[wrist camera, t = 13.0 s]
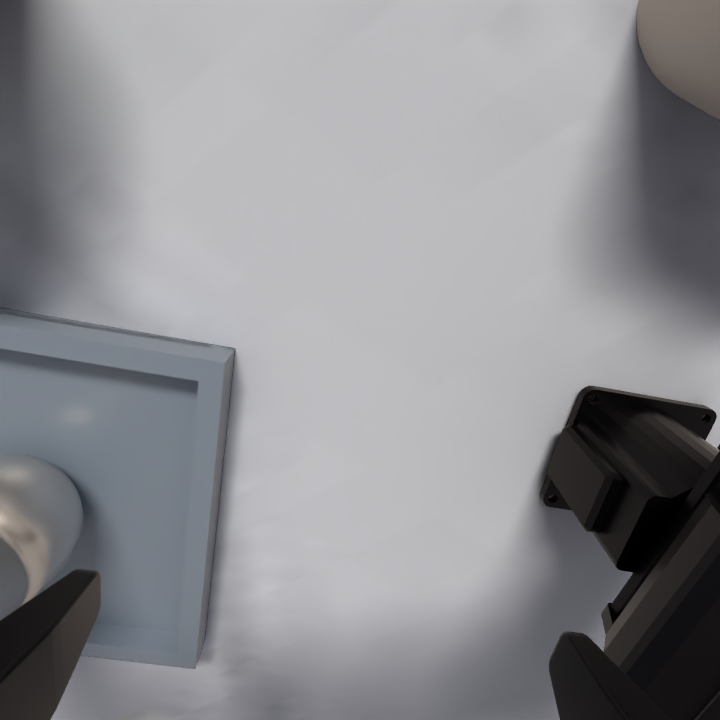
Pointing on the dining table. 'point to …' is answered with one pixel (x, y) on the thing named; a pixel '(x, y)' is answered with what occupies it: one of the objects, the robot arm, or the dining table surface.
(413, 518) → the dining table surface
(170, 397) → the blue-gray tray
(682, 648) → the robot arm
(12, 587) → the plastic bottle
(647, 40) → the beige lumpy box
